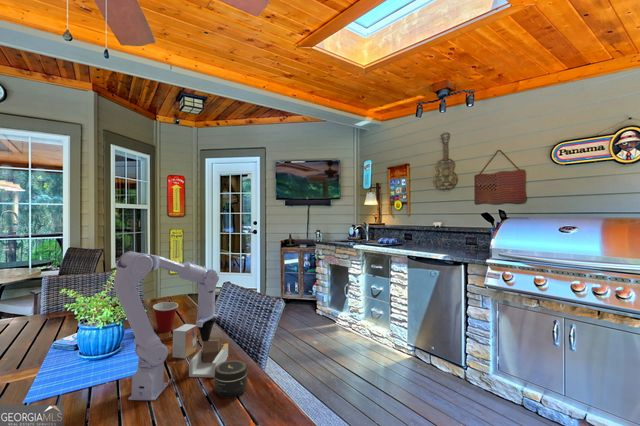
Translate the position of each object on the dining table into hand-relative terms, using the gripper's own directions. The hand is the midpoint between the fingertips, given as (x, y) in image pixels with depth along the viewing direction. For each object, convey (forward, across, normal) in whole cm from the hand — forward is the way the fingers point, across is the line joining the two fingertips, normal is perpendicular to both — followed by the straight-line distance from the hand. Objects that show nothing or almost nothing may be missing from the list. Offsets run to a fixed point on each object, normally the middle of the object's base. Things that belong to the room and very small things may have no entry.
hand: (205, 340), depth 118 cm
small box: (+11, +12, +12) cm, 20 cm away
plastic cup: (+10, +37, +31) cm, 50 cm away
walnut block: (+9, +6, -1) cm, 11 cm away
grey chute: (+10, +3, -1) cm, 11 cm away
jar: (+11, -13, -13) cm, 21 cm away
